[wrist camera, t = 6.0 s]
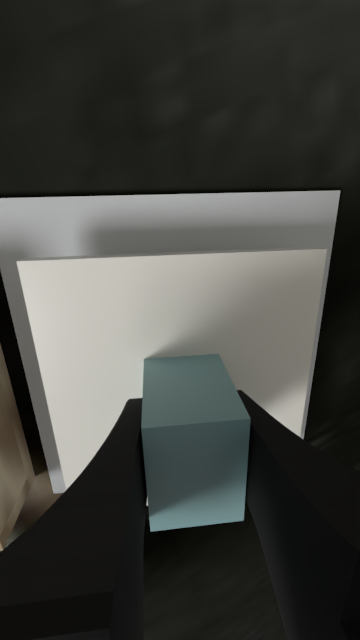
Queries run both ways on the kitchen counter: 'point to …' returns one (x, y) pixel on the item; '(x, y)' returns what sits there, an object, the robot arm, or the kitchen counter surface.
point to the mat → (150, 249)
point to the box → (11, 458)
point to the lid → (175, 362)
